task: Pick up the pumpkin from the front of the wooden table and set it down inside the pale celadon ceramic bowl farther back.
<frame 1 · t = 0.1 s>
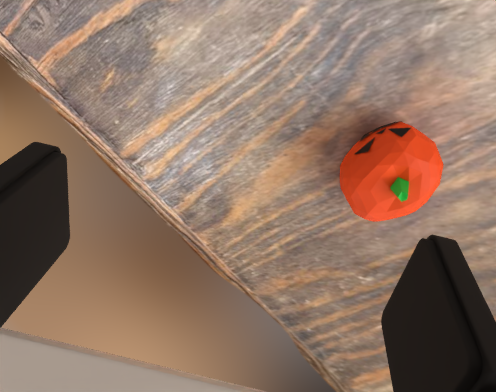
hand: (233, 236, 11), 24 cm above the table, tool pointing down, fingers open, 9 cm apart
pumpkin: (384, 159, 35), on the table
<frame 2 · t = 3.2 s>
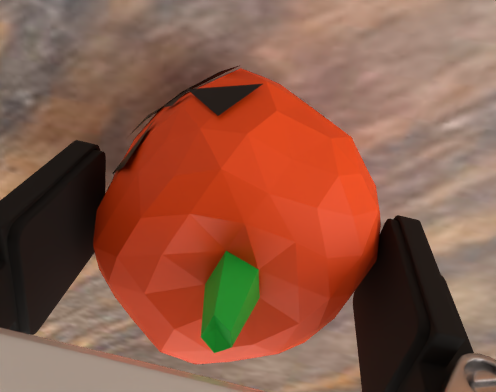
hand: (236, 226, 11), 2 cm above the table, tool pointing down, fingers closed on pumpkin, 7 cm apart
pumpkin: (249, 182, 14), on the table, touching gripper
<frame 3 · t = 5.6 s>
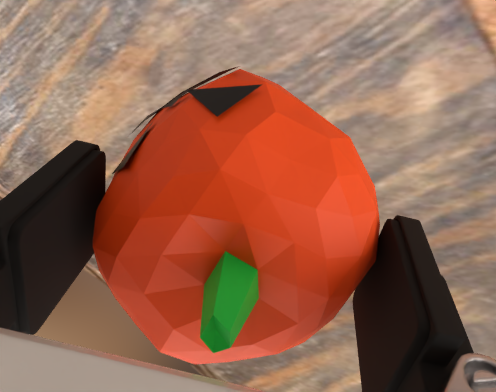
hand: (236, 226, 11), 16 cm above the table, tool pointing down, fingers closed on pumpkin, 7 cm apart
pumpkin: (248, 182, 14), point 14 cm above the table, touching gripper
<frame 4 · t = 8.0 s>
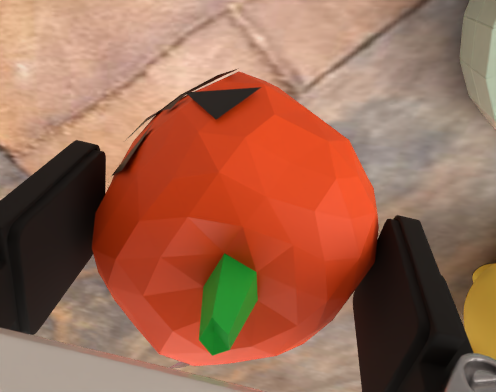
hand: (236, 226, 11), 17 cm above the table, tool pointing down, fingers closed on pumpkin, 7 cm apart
pumpkin: (248, 184, 14), point 14 cm above the table, touching gripper
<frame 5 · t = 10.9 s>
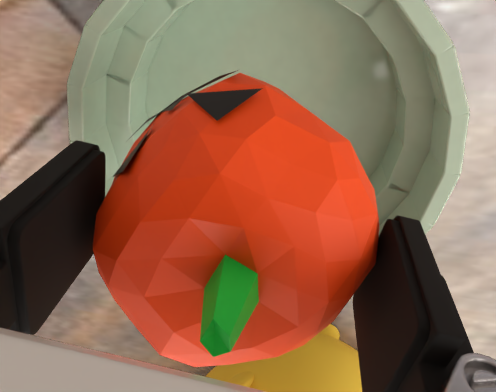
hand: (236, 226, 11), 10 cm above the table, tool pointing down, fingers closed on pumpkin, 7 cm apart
pumpkin: (248, 185, 14), point 7 cm above the table, touching gripper
yellow rounded piece: (280, 380, 30), on the table
bowl: (268, 111, 20), on the table
when the fingers open (3 cm above the table, at t = 13.1 s): pumpkin stays where it is, resting on bowl.
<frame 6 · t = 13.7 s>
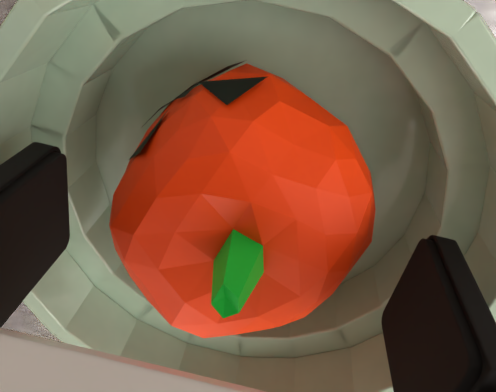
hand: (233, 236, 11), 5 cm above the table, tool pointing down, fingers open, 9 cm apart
pumpkin: (253, 172, 14), point 1 cm above the table, touching bowl
bowl: (257, 164, 15), on the table
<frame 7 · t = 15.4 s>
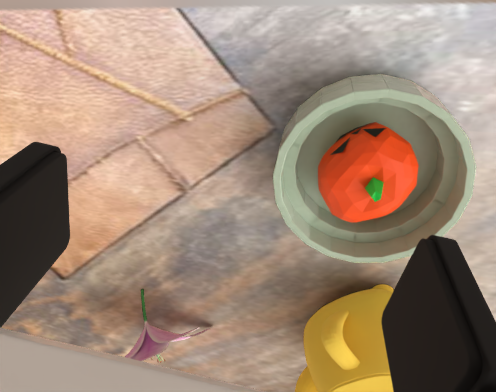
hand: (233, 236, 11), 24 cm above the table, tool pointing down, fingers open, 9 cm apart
pumpkin: (363, 161, 35), point 1 cm above the table, touching bowl
yellow rounded piece: (352, 326, 45), on the table
lily: (167, 313, 48), on the table
bowl: (364, 158, 35), on the table
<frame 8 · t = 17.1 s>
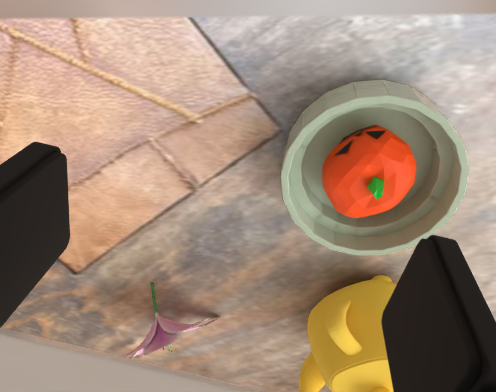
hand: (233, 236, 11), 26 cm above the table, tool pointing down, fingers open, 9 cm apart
pumpkin: (364, 160, 37), point 1 cm above the table, touching bowl
yellow rounded piece: (352, 315, 47), on the table
lily: (175, 305, 50), on the table
bowl: (364, 157, 38), on the table
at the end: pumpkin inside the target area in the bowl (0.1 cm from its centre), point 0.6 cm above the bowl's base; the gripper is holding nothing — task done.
